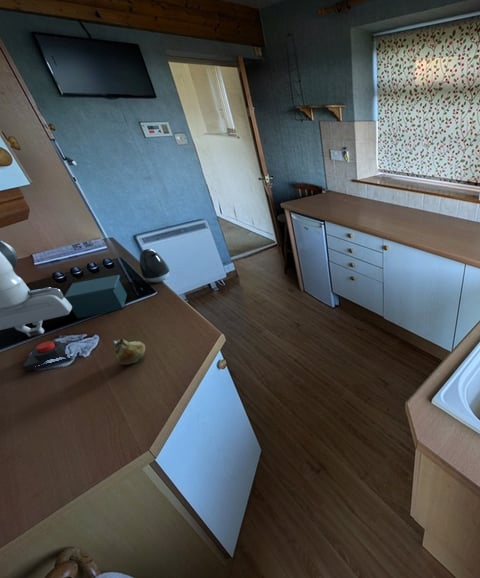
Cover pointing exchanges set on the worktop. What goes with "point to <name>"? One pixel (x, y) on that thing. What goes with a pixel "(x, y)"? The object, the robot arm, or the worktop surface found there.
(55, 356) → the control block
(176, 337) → the worktop surface
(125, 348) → the onion
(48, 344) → the button
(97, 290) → the lid
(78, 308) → the tin
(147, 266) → the black egg-shaped dome
